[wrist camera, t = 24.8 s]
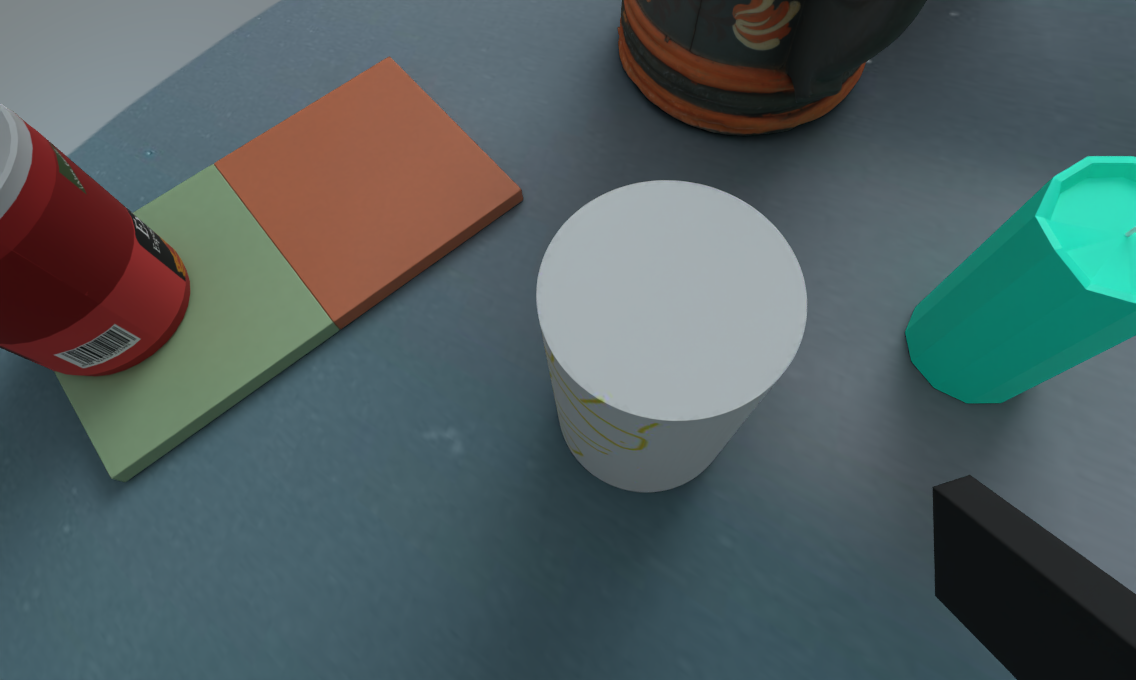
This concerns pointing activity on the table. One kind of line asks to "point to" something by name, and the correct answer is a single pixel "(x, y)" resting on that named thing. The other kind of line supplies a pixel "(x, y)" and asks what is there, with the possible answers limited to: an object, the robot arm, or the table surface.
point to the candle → (1036, 289)
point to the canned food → (78, 265)
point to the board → (292, 253)
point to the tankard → (754, 56)
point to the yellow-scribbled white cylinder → (665, 327)
